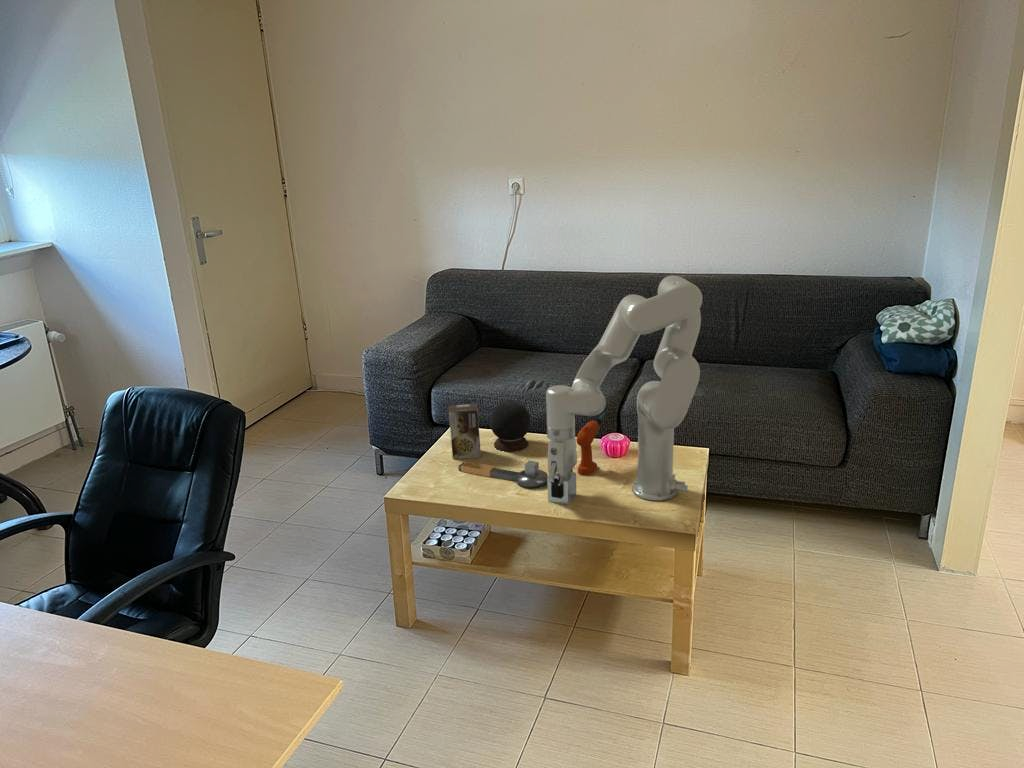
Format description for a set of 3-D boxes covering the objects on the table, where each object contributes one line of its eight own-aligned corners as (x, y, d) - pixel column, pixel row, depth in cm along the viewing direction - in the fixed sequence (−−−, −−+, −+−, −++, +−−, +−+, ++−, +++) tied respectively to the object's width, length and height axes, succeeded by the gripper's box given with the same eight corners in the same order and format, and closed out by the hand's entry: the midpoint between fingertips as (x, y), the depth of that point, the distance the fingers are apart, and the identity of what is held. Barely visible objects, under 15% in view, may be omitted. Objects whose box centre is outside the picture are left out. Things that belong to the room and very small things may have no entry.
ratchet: (552, 478, 213) (552, 459, 211) (539, 491, 206) (539, 471, 204) (468, 463, 226) (467, 445, 224) (453, 474, 218) (452, 456, 216)
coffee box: (480, 449, 236) (477, 402, 230) (480, 457, 229) (478, 409, 224) (452, 451, 235) (448, 404, 230) (451, 459, 229) (448, 411, 224)
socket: (576, 495, 202) (576, 472, 200) (568, 505, 197) (567, 481, 195) (556, 491, 205) (556, 469, 203) (547, 501, 200) (547, 477, 198)
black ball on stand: (524, 455, 230) (522, 410, 225) (485, 451, 234) (482, 407, 229) (536, 439, 242) (535, 396, 237) (499, 435, 246) (497, 394, 241)
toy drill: (613, 448, 228) (611, 406, 222) (589, 479, 214) (586, 434, 208) (599, 446, 231) (597, 403, 224) (574, 476, 216) (571, 432, 210)
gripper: (561, 445, 186) (562, 508, 192) (585, 422, 201) (586, 481, 206) (534, 441, 189) (536, 503, 195) (560, 418, 204) (561, 477, 209)
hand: (562, 491), depth 201 cm, fingers closed on socket, 6 cm apart
